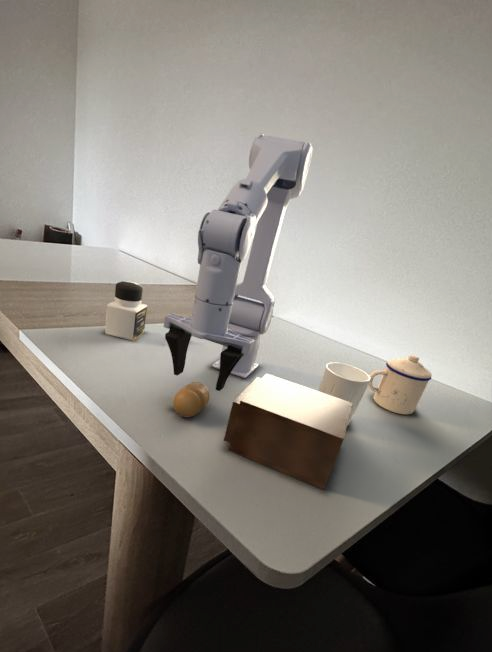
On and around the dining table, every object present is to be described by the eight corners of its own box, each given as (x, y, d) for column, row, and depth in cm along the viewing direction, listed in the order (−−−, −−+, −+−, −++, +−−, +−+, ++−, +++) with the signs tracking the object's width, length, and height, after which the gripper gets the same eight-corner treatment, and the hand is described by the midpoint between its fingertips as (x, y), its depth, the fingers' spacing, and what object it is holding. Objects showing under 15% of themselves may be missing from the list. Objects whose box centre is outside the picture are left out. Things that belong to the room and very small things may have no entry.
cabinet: (228, 450, 59) (240, 400, 55) (254, 416, 69) (266, 373, 66) (323, 490, 54) (343, 439, 51) (335, 447, 65) (353, 403, 61)
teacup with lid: (403, 398, 90) (424, 352, 85) (422, 418, 82) (446, 368, 77) (354, 389, 89) (372, 342, 84) (367, 409, 81) (389, 358, 76)
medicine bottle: (133, 341, 90) (138, 289, 85) (104, 333, 91) (107, 282, 86) (144, 332, 97) (149, 284, 91) (117, 325, 97) (121, 277, 92)
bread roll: (190, 402, 71) (188, 377, 69) (214, 405, 69) (213, 379, 67) (168, 419, 64) (166, 392, 62) (195, 423, 62) (193, 395, 60)
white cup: (351, 416, 77) (370, 370, 72) (351, 435, 70) (371, 386, 65) (312, 404, 78) (327, 358, 74) (307, 421, 71) (324, 372, 67)
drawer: (216, 437, 59) (225, 398, 56) (241, 408, 69) (250, 374, 66) (310, 476, 55) (325, 436, 52) (323, 439, 65) (336, 404, 62)
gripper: (158, 290, 57) (147, 374, 63) (250, 318, 53) (230, 405, 59) (181, 284, 63) (169, 361, 69) (265, 309, 59) (245, 389, 65)
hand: (198, 380), depth 64 cm, fingers open, 7 cm apart
